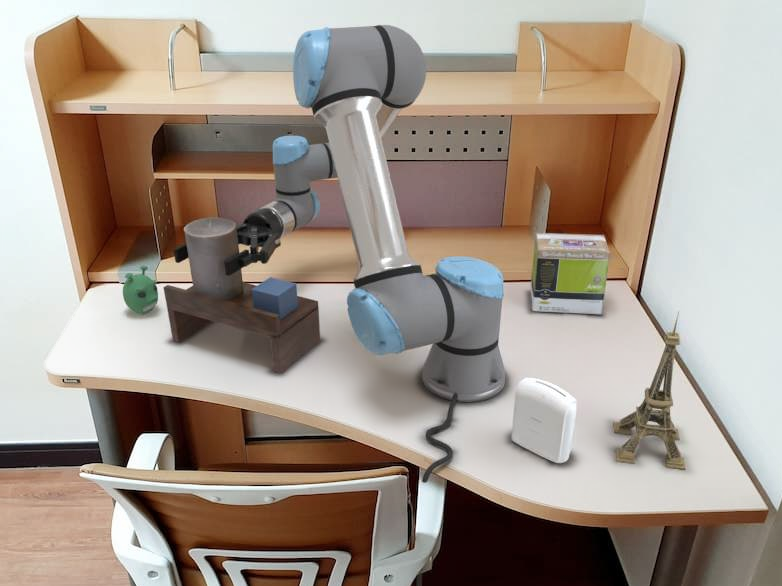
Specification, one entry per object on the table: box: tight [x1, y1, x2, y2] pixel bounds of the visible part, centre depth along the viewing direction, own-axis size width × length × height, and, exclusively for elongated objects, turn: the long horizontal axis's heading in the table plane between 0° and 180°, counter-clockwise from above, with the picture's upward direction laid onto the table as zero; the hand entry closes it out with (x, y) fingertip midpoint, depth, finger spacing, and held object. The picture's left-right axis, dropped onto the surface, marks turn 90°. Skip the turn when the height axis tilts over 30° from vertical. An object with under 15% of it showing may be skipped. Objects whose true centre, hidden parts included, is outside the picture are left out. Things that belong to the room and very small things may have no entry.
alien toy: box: [122, 264, 159, 315], centre depth 159 cm, size 7×8×10 cm
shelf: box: [163, 281, 321, 374], centre depth 149 cm, size 26×14×12 cm, turn 63°
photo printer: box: [511, 377, 578, 464], centre depth 121 cm, size 10×4×12 cm, turn 47°
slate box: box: [252, 276, 298, 320], centre depth 143 cm, size 6×6×5 cm
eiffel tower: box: [613, 310, 687, 471], centre depth 118 cm, size 11×11×25 cm
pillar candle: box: [183, 216, 244, 301], centre depth 147 cm, size 10×10×15 cm
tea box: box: [530, 232, 611, 315], centre depth 164 cm, size 15×10×15 cm
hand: (200, 262), depth 144 cm, fingers open, 11 cm apart
